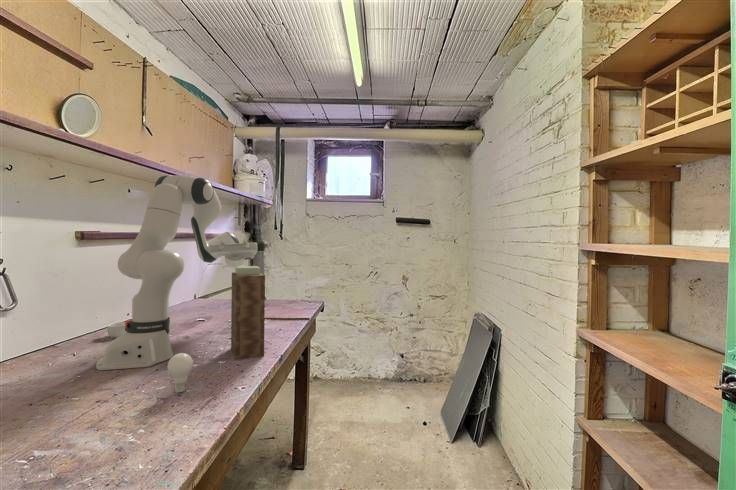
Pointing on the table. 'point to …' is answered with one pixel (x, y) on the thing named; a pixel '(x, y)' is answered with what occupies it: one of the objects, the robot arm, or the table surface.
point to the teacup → (116, 329)
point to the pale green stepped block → (247, 270)
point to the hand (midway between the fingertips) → (233, 243)
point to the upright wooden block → (247, 315)
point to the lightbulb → (180, 370)
